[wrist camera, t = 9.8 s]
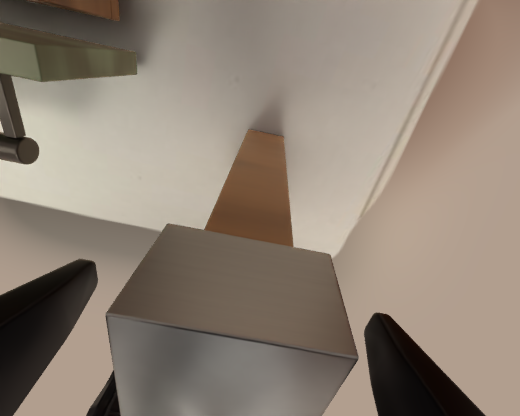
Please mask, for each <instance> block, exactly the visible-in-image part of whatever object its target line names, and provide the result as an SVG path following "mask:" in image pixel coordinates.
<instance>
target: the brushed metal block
mask: <svg viewBox="0 0 520 416" xmlns="http://www.w3.org/2000/svg"><path fill="white" fill-rule="evenodd" d="M106 321H107V328H108V335H109V342H110V348H111V355H112V362H113V368H114V375H115V381H116V388H117V395H118V401H119V408H120V414H121V416H322V414H323V413H324V411H325V410H326V408H327V407H328V405H329V404H330V402H331V401H332V399H333V398H334V396H335V395H336V393H337V391H338V390H339V388H340V387H341V385H342V384H343V382H344V381H345V379H346V378H347V376H348V374H349V373H350V371H351V370H352V368H353V367H354V365H355V364H356V362H357V361H358V354H357V349H356V346H355V343H354V339H353V335H352V332H351V328H350V324H349V321H348V317H347V313H346V310H345V306H344V303H343V299H342V295H341V292H340V288H339V285H338V281H337V277H336V274H335V271H334V267H333V263H332V259H331V256H330V254H327V253H322V252H316V251H311V250H306V249H301V248H295V247H290V246H285V245H280V244H274V243H269V242H264V241H259V240H253V239H248V238H243V237H238V236H232V235H227V234H222V233H217V232H211V231H206V230H201V229H196V228H190V227H185V226H180V225H175V224H170V223H169V224H167V225H166V226H165V228H164V229H163V231H162V232H161V234H160V235H159V237H158V238H157V240H156V241H155V242H154V244H153V246H152V247H151V248H150V250H149V251H148V253H147V254H146V256H145V257H144V259H143V260H142V261H141V263H140V264H139V266H138V267H137V269H136V270H135V272H134V273H133V274H132V276H131V277H130V279H129V280H128V282H127V283H126V285H125V286H124V288H123V289H122V291H121V292H120V294H119V295H118V296H117V298H116V299H115V301H114V303H113V304H112V305H111V307H110V308H109V310H108V311H107V313H106Z"/></svg>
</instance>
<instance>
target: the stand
mask: <svg viewBox="0 0 520 416" xmlns="http://www.w3.org/2000/svg"><path fill="white" fill-rule="evenodd" d="M204 230H206V231H211V232H217V233H222V234H227V235H232V236H238V237H243V238H248V239H253V240H259V241H264V242H269V243H274V244H280V245H285V246H290V247H293V236H292V225H291V214H290V202H289V191H288V180H287V168H286V157H285V146H284V137H283V136H278V135H273V134H268V133H264V132H259V131H254V130H249V129H248V131H247V133H246V136H245V138H244V140H243V142H242V145H241V147H240V149H239V152H238V154H237V156H236V158H235V161H234V163H233V165H232V168H231V170H230V172H229V174H228V177H227V179H226V181H225V184H224V186H223V188H222V190H221V193H220V195H219V197H218V199H217V202H216V204H215V206H214V209H213V211H212V213H211V215H210V218H209V220H208V222H207V225H206V227H205V229H204Z"/></svg>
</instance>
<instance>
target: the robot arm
mask: <svg viewBox="0 0 520 416" xmlns="http://www.w3.org/2000/svg"><path fill="white" fill-rule="evenodd" d="M97 283H98V278H97V271H96V265H95V262H94V261H91V260H85V259H78V260H76V261H73V262H71V263H69V264H67V265H65V266H63V267H60V268H58V269H56V270H54V271H52V272H50V273H48V274H45V275H43V276H41V277H39V278H37V279H35V280H32V281H30V282H28V283H26V284H24V285H21V286H19V287H17V288H15V289H13V290H11V291H8V292H6V293H4V294H2V295H0V416H13V415H14V413H15V412H16V410H17V409H18V408H19V406H20V405H21V403H22V402H23V400H24V399H25V397H26V396H27V395H28V393H29V392H30V390H31V389H32V387H33V386H34V385H35V383H36V382H37V380H38V379H39V377H40V376H41V375H42V373H43V372H44V370H45V369H46V368H47V366H48V365H49V363H50V362H51V360H52V359H53V358H54V356H55V355H56V353H57V352H58V350H59V349H60V347H61V346H62V345H63V343H64V342H65V340H66V339H67V337H68V335H69V334H70V332H71V331H72V329H73V328H74V326H75V324H76V322H77V320H78V319H79V317H80V315H81V313H82V311H83V310H84V308H85V306H86V304H87V303H88V301H89V299H90V297H91V295H92V294H93V292H94V290H95V288H96V286H97ZM364 337H365V344H366V351H367V359H368V366H369V374H370V380H371V386H372V391H373V395H374V399H375V404H376V408H377V412H378V416H485V415H484V414H483V412H481V410H480V409H479V408H478V407H477V406H476V405H475V404H474V403H473V402H472V401H471V400H470V399H469V398H468V397H467V396H466V395H465V394H464V393H463V392H462V391H461V390H460V388H459V387H458V386H457V385H456V384H455V383H454V382H453V381H452V380H451V379H450V378H449V377H448V376H447V375H446V374H445V373H444V372H443V371H442V370H441V369H440V368H439V367H438V366H437V365H436V364H435V362H434V361H433V360H432V359H431V358H430V357H429V356H428V355H427V354H426V353H425V352H424V351H423V350H422V349H421V348H420V347H419V346H418V345H417V344H416V343H415V342H414V341H413V339H412V338H411V337H409V335H408V334H407V333H406V332H405V331H404V330H403V329H402V328H401V327H400V326H399V325H398V324H397V323H396V322H395V321H394V320H393V319H392V318H391V317H390V316H389V315H387V314H383V313H374V314H373V316H372V318H371V319H370V321H369V323H368V324H367V326H366V328H365V331H364ZM86 416H121V414H120V408H119V401H118V395H117V388H116V381H115V375H114V370H113V372H112V374H111V376H110V378H109V380H108V381H107V383H106V385H105V386H104V388H103V389H102V391H101V392H100V394H99V395H98V397H97V398H96V400H95V401H94V403H93V405H92V406H91V408H90V409H89V411H88V413H87V415H86Z"/></svg>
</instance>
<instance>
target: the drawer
mask: <svg viewBox="0 0 520 416" xmlns="http://www.w3.org/2000/svg"><path fill="white" fill-rule="evenodd" d="M25 1H29V2H34V3H38V4H43V5H47V6H52V7H56V8H61V9H65V10H70V11H74V12H79V13H83V14H88V15H92V16H97V17H101V18H106V19H110V20H115V21H120V17H119V1H118V0H25ZM136 74H137V61H136V52H134V51H130V50H125V49H120V48H116V47H111V46H107V45H102V44H97V43H93V42H88V41H84V40H79V39H74V38H70V37H65V36H61V35H56V34H51V33H47V32H42V31H38V30H33V29H28V28H24V27H19V26H15V25H10V24H5V23H1V22H0V121H1V124H2V127H3V131H4V133H3V132H0V159H1V160H6V161H11V162H16V163H21V164H31V163H33V162H35V161H36V160H37V158H38V156H39V146H38V144H37V143H36V141H34V140H33V139H31V138H28V137H23V136H26V134H25V130H24V126H23V122H22V118H21V114H20V110H19V106H18V102H17V98H16V94H15V90H14V86H13V82H12V78H11V76H16V77H20V78H25V79H30V80H35V81H40V82H48V81H61V80H73V79H86V78H99V77H111V76H124V75H136Z"/></svg>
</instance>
